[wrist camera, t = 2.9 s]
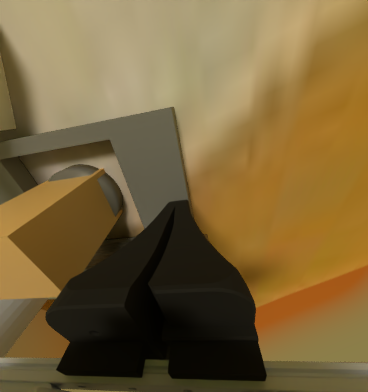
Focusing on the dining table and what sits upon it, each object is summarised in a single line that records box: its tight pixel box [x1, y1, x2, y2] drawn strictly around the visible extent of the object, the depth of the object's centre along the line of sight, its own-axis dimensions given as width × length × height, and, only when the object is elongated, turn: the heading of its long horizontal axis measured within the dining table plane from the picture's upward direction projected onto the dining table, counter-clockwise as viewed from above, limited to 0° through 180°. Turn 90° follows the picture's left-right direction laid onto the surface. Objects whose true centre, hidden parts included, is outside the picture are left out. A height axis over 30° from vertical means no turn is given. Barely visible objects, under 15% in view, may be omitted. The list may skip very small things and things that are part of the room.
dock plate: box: [0, 107, 194, 244], centre depth 13 cm, size 15×14×1 cm
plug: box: [0, 164, 123, 300], centre depth 10 cm, size 5×5×7 cm
